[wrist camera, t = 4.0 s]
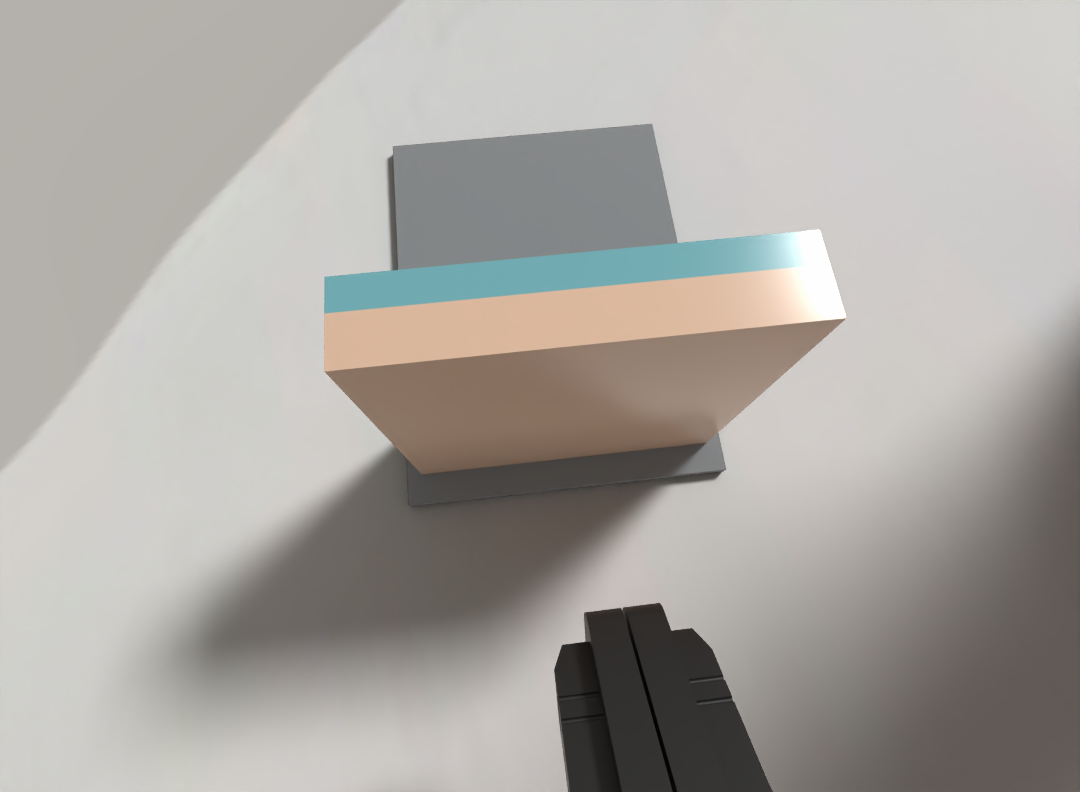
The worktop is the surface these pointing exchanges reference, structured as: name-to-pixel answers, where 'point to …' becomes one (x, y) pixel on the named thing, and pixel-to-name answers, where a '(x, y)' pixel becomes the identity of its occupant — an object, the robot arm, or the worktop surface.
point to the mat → (530, 231)
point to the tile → (576, 346)
